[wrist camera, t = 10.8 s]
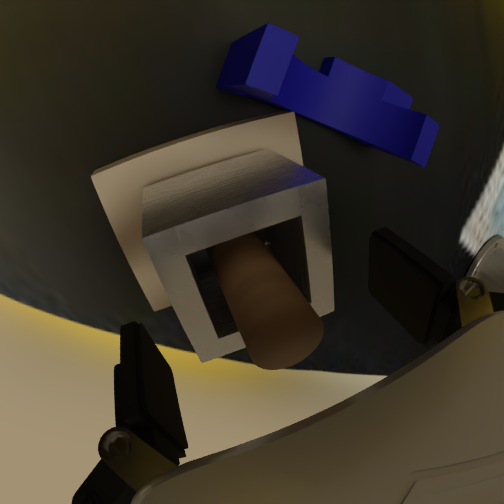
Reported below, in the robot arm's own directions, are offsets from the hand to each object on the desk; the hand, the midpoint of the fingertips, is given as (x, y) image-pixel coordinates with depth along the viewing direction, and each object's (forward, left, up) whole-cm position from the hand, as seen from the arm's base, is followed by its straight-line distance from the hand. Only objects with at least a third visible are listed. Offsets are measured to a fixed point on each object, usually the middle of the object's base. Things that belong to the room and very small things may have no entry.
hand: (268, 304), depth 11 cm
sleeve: (0, 0, -7) cm, 7 cm away
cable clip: (+6, -8, -10) cm, 15 cm away
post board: (0, 0, -10) cm, 10 cm away
